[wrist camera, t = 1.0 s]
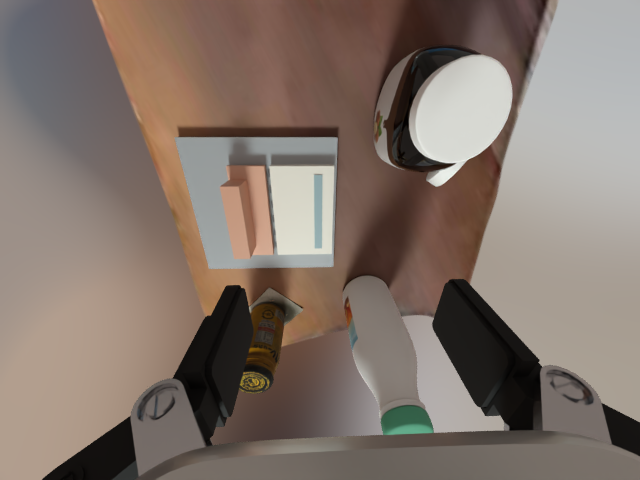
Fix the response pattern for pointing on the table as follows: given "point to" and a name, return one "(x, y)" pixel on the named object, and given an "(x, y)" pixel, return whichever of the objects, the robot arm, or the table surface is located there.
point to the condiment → (266, 339)
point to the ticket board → (283, 189)
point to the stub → (248, 211)
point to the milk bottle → (385, 355)
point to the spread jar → (440, 110)
